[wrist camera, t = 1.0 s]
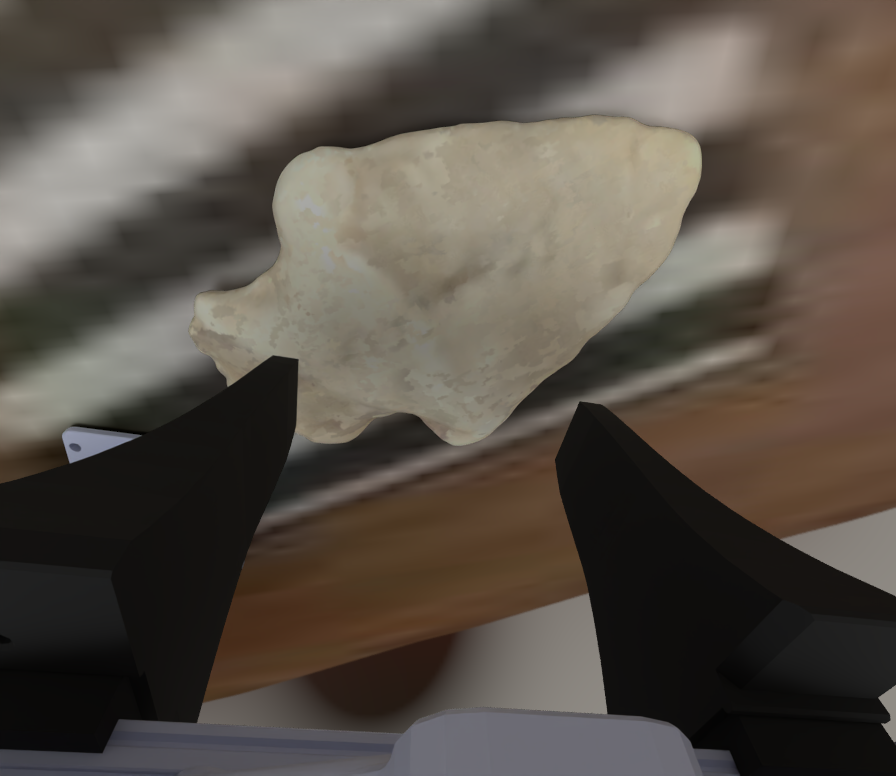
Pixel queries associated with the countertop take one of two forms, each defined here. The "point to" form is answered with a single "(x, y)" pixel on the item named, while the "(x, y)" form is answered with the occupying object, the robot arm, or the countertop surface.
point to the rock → (452, 267)
